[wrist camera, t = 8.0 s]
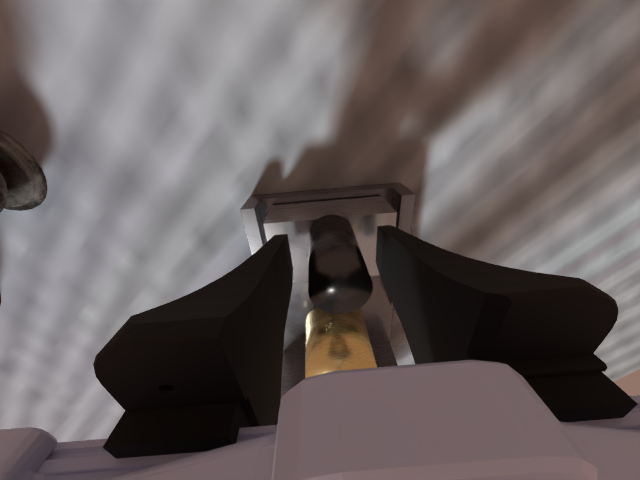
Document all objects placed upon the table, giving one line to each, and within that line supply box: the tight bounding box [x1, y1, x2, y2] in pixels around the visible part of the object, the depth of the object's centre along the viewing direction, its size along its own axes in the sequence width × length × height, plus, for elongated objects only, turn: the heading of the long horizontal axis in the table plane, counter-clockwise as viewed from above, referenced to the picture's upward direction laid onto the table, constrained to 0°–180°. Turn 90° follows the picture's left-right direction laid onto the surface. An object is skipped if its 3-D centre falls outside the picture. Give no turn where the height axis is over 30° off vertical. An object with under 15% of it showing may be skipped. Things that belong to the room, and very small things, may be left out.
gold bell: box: [305, 307, 377, 378], centre depth 17 cm, size 5×5×6 cm
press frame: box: [240, 183, 416, 398], centre depth 17 cm, size 16×10×4 cm, turn 4°
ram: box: [263, 196, 397, 314], centre depth 12 cm, size 4×7×7 cm, turn 94°
